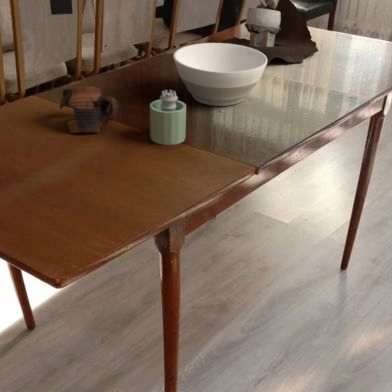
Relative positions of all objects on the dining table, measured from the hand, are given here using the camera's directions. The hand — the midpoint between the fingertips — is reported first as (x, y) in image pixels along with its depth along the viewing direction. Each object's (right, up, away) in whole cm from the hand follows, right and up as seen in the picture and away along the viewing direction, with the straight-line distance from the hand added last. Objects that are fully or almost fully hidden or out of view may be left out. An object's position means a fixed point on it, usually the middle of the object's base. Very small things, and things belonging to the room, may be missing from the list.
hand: (49, 1), depth 87 cm
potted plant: (+40, +28, +73) cm, 88 cm away
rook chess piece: (+15, -8, +31) cm, 35 cm away
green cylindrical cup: (+15, -8, +31) cm, 35 cm away
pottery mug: (0, -5, +34) cm, 34 cm away
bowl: (+25, +6, +48) cm, 54 cm away
